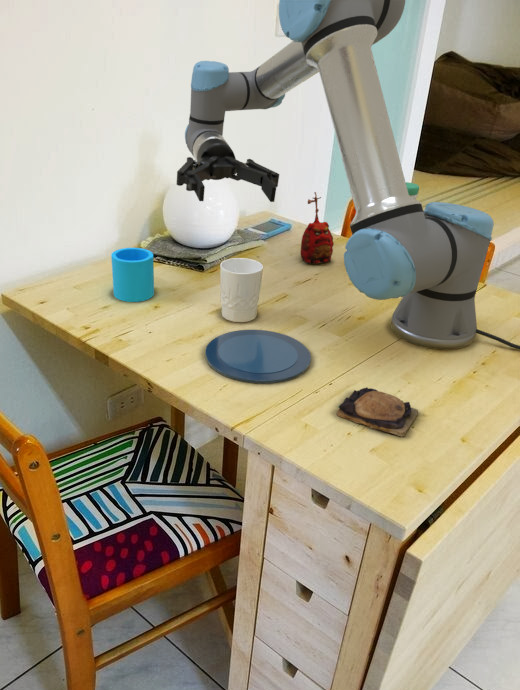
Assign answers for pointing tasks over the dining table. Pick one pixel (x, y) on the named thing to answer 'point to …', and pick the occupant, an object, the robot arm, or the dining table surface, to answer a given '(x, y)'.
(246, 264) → the white cup
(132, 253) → the mug
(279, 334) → the plate
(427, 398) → the dining table surface
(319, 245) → the red clay folk toy
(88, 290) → the dining table surface
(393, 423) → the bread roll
